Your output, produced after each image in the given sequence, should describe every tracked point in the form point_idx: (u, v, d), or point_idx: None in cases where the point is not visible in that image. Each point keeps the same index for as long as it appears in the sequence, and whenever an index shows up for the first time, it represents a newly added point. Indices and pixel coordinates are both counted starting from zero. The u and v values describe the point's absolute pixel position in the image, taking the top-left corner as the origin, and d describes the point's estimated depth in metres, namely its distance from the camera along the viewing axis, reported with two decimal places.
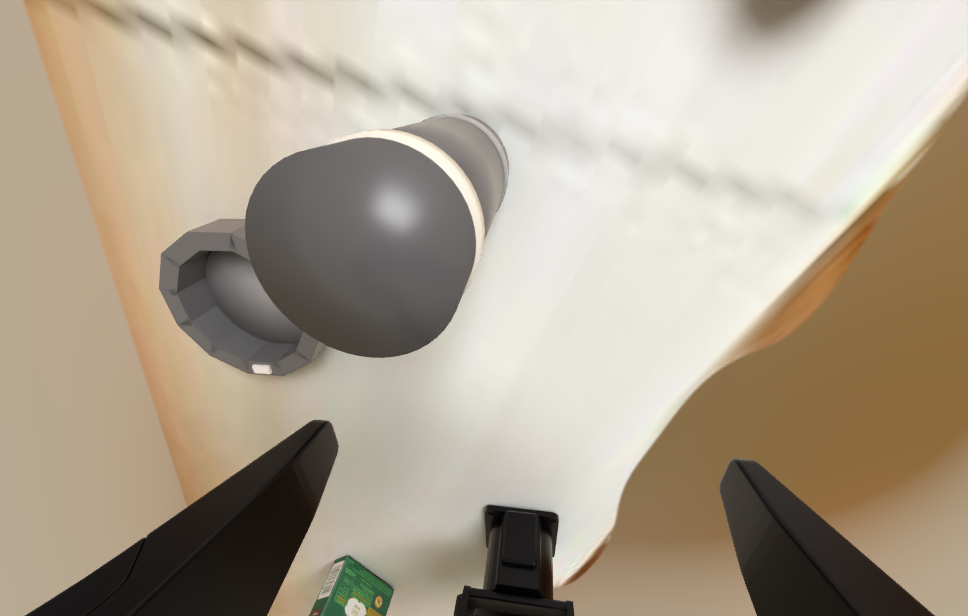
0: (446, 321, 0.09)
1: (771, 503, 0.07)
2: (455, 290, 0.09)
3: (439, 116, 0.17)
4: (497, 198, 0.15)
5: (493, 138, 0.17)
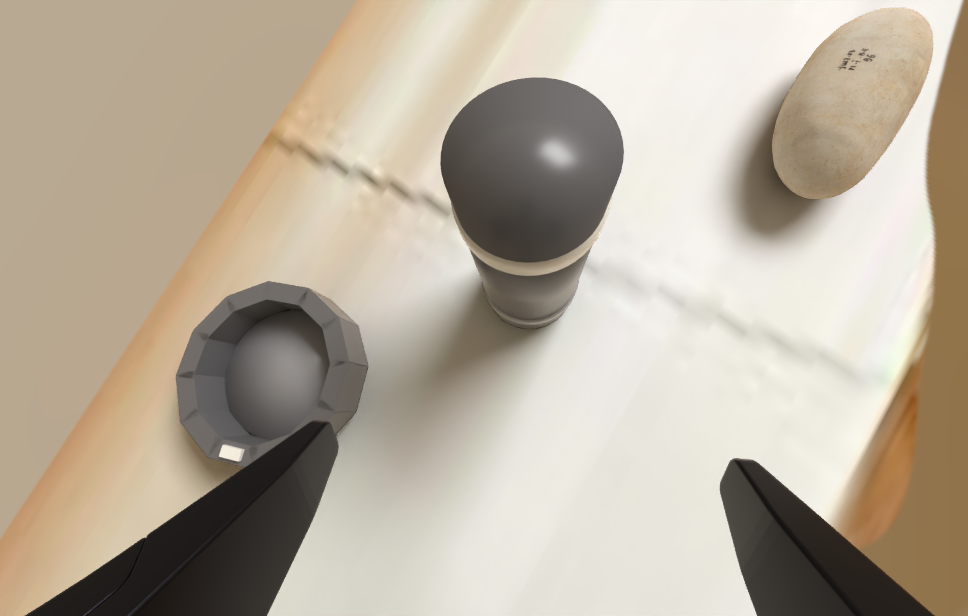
0: (599, 202, 0.10)
1: (771, 503, 0.07)
2: (614, 175, 0.10)
3: None
4: None
5: None
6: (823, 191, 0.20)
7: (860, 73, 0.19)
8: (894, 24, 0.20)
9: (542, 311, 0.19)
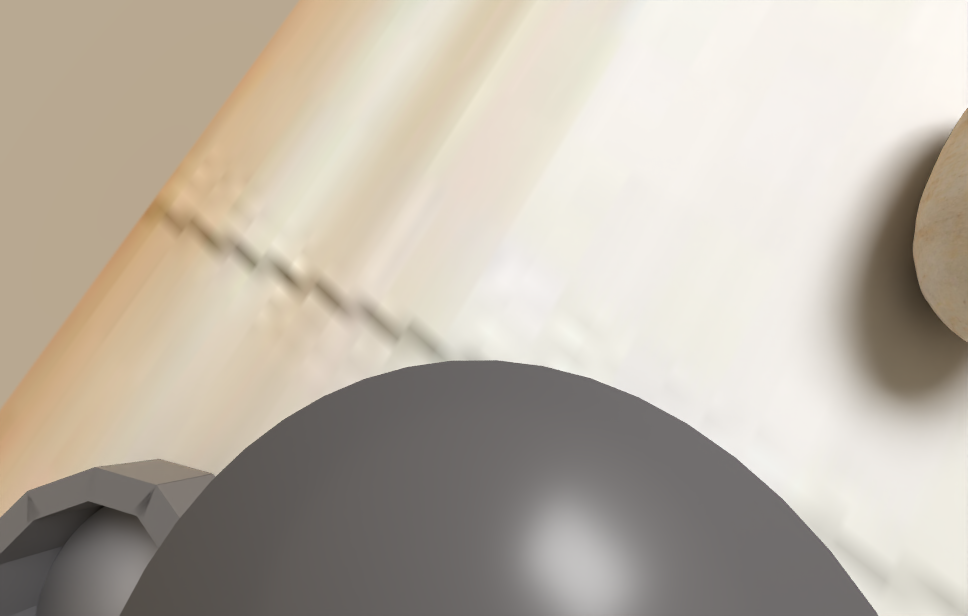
0: None
1: None
2: None
3: None
4: None
5: None
6: None
7: None
8: None
9: None
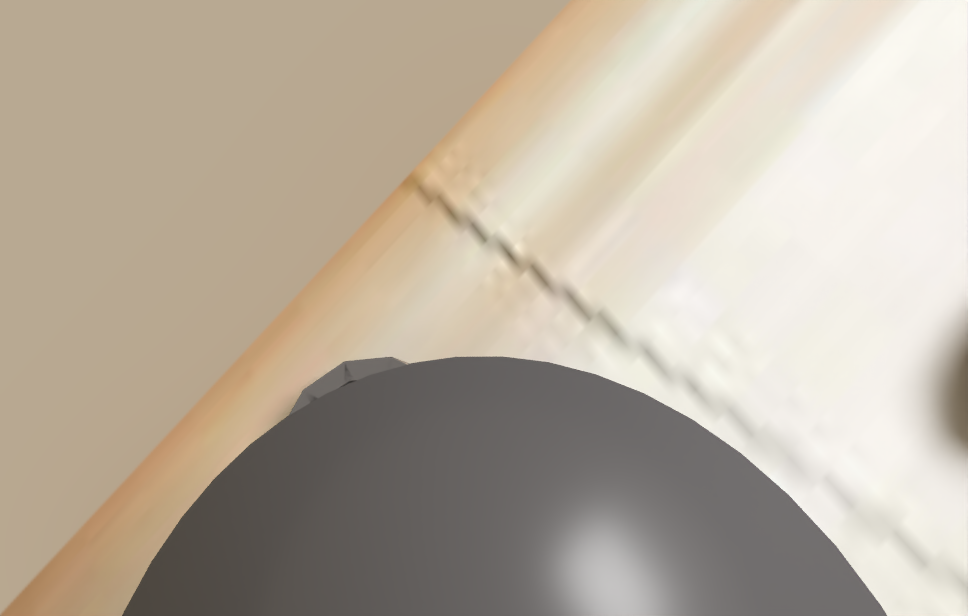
0: None
1: None
2: None
3: None
4: None
5: None
6: None
7: None
8: None
9: None
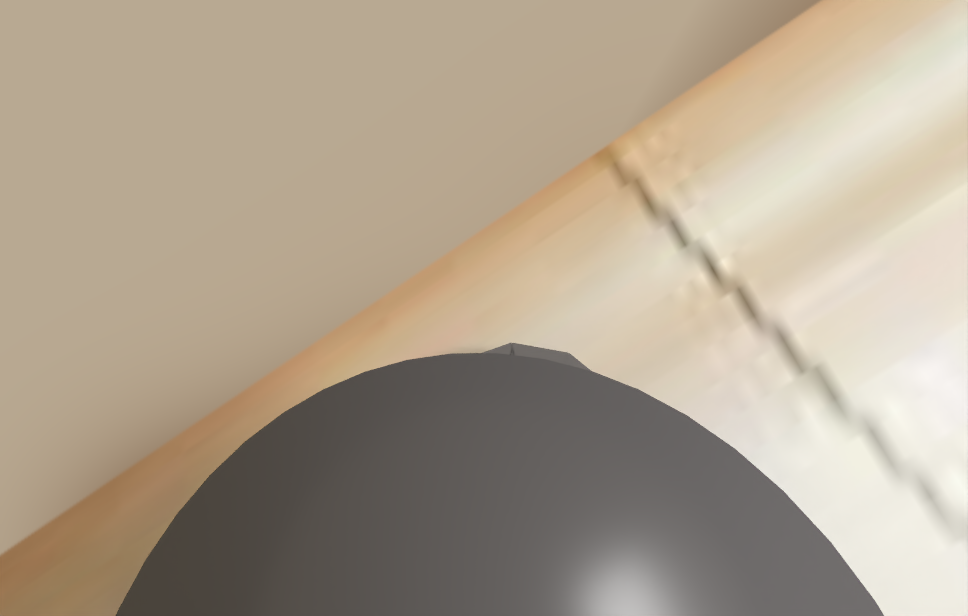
0: None
1: None
2: None
3: None
4: None
5: None
6: None
7: None
8: None
9: None
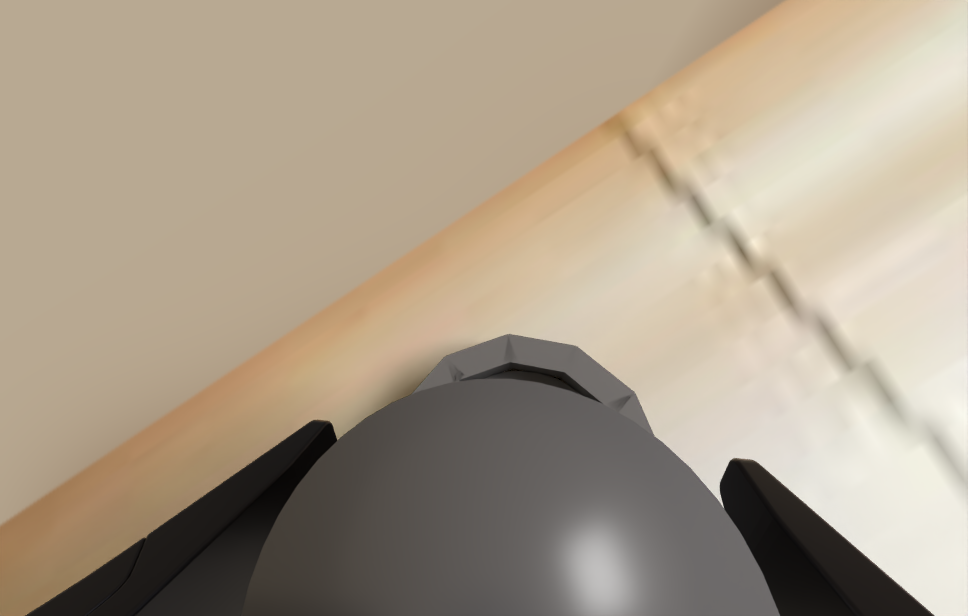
0: None
1: (771, 503, 0.07)
2: None
3: None
4: None
5: None
6: None
7: None
8: None
9: None
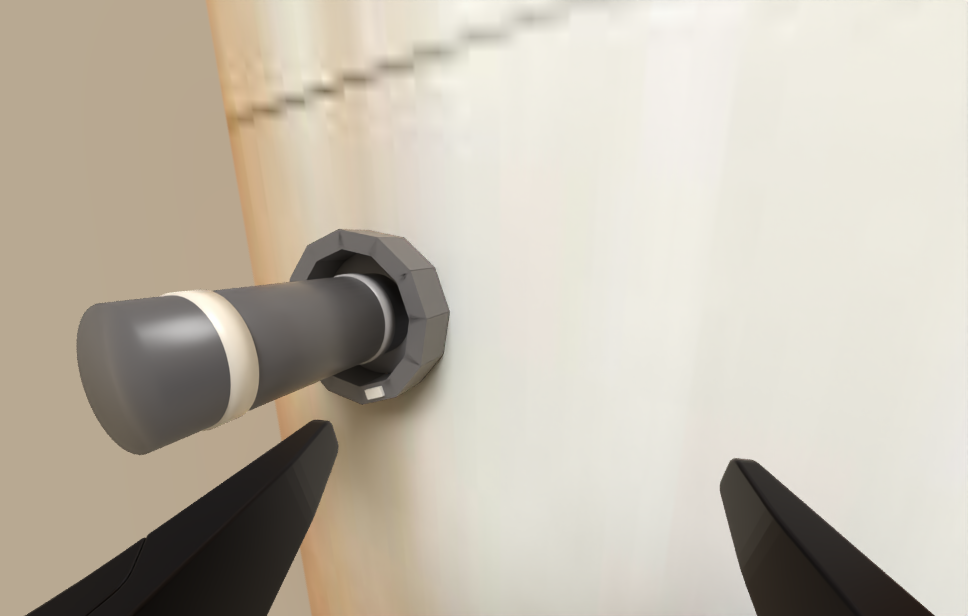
0: (156, 368, 0.11)
1: (771, 503, 0.07)
2: (143, 341, 0.11)
3: None
4: (330, 297, 0.18)
5: (348, 274, 0.22)
6: None
7: None
8: None
9: (364, 343, 0.20)
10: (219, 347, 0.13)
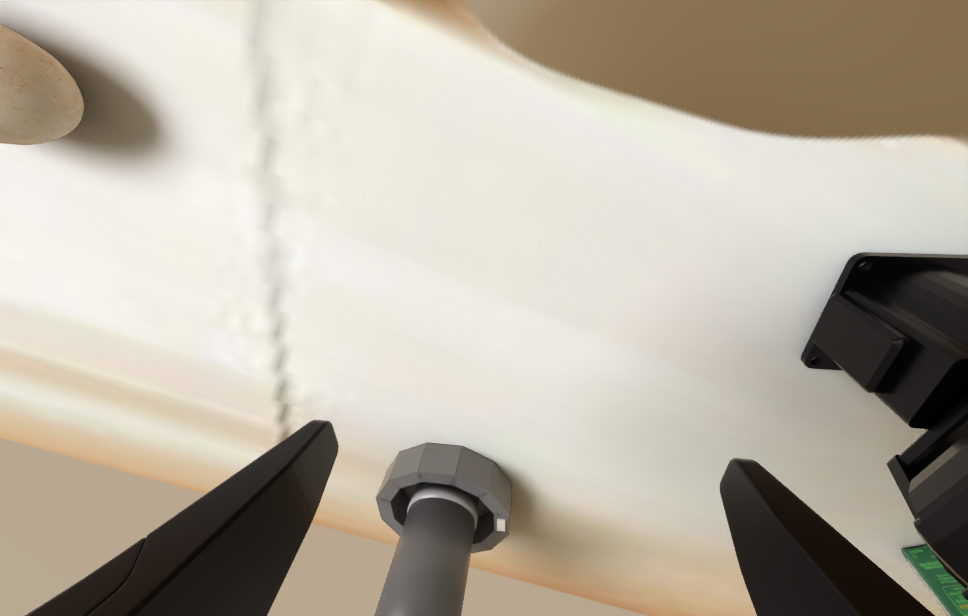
0: None
1: (771, 503, 0.07)
2: None
3: None
4: (411, 540, 0.25)
5: None
6: (57, 92, 0.16)
7: None
8: None
9: (455, 526, 0.26)
10: None
